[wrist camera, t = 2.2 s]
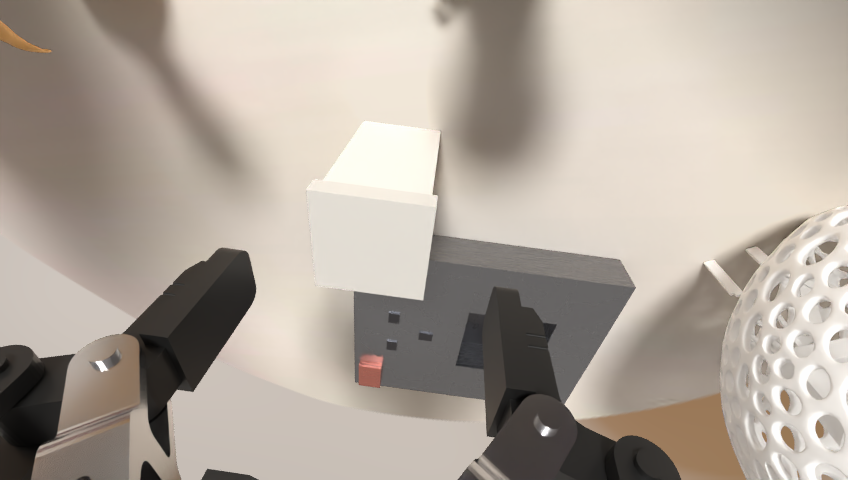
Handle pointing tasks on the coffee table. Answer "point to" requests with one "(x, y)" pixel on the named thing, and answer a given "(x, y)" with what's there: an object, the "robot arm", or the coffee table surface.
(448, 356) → the socket plate
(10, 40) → the figurine
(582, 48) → the coffee table surface
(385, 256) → the plug
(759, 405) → the decorative heart
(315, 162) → the coffee table surface
